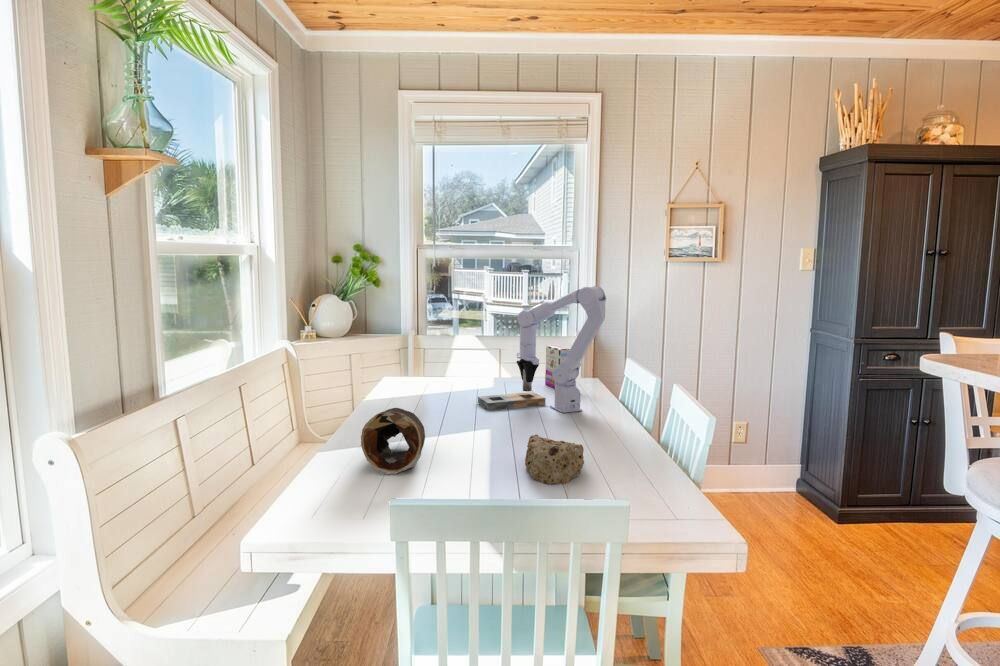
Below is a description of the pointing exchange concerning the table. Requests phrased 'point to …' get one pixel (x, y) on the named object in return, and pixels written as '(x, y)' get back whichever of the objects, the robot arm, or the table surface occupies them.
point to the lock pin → (526, 383)
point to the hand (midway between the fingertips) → (527, 381)
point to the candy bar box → (553, 362)
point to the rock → (553, 460)
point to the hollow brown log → (386, 428)
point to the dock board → (511, 400)
